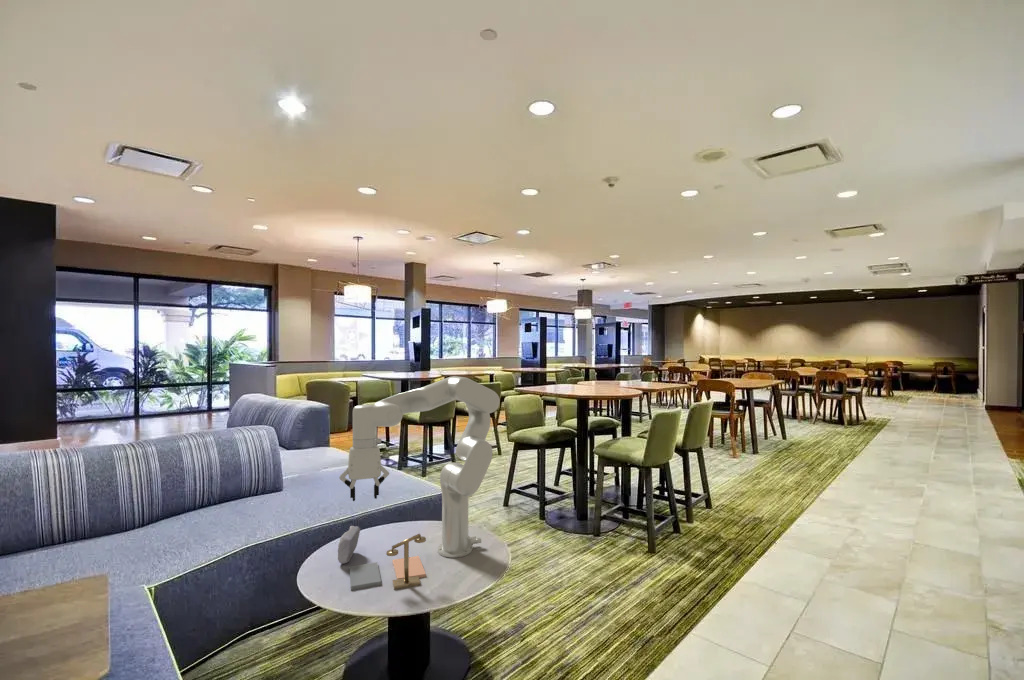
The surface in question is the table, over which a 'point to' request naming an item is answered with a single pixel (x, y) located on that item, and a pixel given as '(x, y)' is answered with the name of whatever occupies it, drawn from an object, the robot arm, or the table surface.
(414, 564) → the terracotta mat
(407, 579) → the balance
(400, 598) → the table surface
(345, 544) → the stone block
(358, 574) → the slate mat
